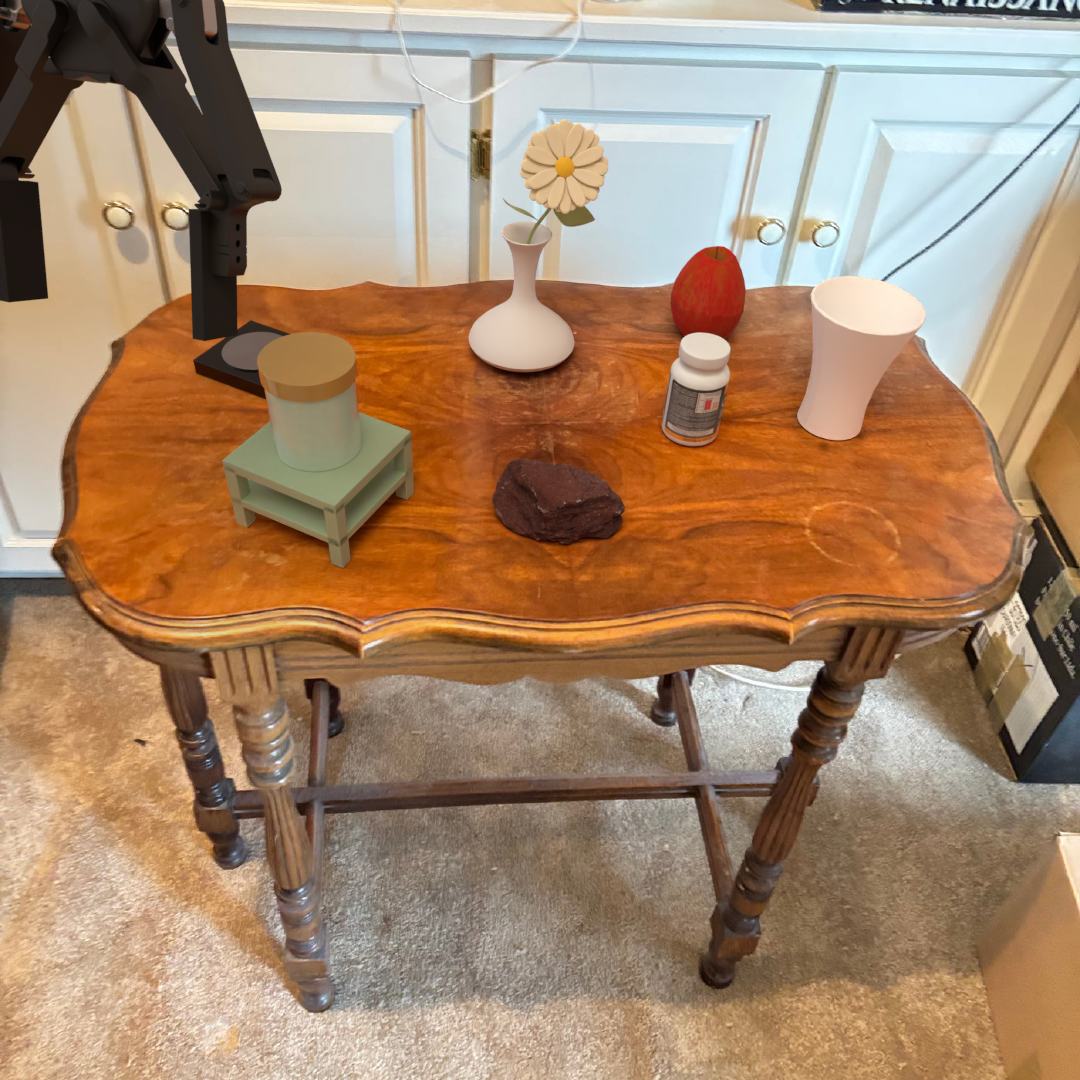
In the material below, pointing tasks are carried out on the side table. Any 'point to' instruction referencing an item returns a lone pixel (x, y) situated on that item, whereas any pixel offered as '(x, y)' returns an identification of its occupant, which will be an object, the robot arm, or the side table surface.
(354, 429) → the jar
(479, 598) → the side table surface
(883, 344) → the cup
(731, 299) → the apple
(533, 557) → the side table surface
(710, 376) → the pill bottle
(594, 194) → the flower in vase
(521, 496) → the rock
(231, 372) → the hot plate
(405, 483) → the shelf
